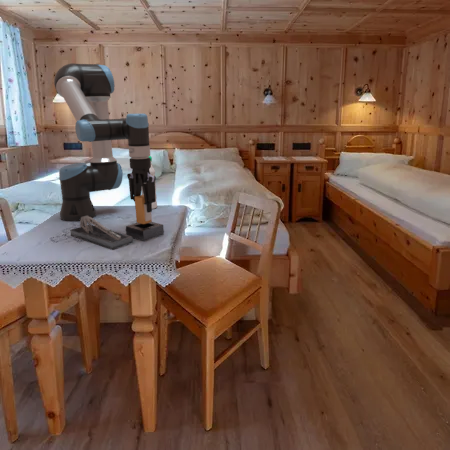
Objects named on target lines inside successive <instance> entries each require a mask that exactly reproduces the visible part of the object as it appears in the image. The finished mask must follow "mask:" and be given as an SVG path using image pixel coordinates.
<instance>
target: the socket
mask: <svg viewBox="0 0 450 450" xmlns="http://www.w3.org/2000/svg"><path fill="white" fill-rule="evenodd" d="M125 232H126V234H125V235H128V236H131V237H133V240H134V239H135V240H139V241H142V242H145V241H146V242H147V241H149V240H151V239H155V238H157V237H161V236H163V235H164V234H165V231H164V224H162V223H158V222H154V221H152V222H150V223H146V224H141V223H137V222H136V223H135V222H134V223H132V224H129V225H125Z"/></svg>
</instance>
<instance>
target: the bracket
mask: <svg viewBox="0 0 450 450" xmlns="http://www.w3.org/2000/svg"><path fill="white" fill-rule="evenodd" d="M79 222H80V223H79V227H82V228H83V229H84V230H85V229H86V230H85V231H86V232H87V233H88V234H89V231H90V232H91V230H92V231H93V229H91V228H92V226H90V225H94V226H96V227H98V228H99V229H101V230H102V231H104V232H105V233H107V234H108V235H110V236H111V237H113V238H114V239H116V240H117V241H118V240H120V238H121V236H119V235H117V234H116V233H114V232H115V231H114V232H112V231H113V230H112V229H108V228H107V227H106V226H104V225H103V224H102V223H100V222H99V221H97V220H96V219H94V217H93V218H91V217H89V216H83V217H81V220H79ZM88 225H89V226H88ZM84 226H85V227H86V228H85V227H84ZM87 228H88V229H87ZM91 233H92V232H91ZM111 233H112V234H111ZM113 234H114V235H115V236H117V237H118V238H117V237H115V236H114V235H113Z"/></svg>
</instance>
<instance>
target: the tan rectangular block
mask: <svg viewBox="0 0 450 450" xmlns="http://www.w3.org/2000/svg"><path fill="white" fill-rule="evenodd" d="M144 203H145V199H144V195H142V194H141V195H140V196H136V197H135V202H134V207H136V209H135V218H136V223H141V224H146V223H150V222H153V221H152V220H153V219H152V220H149V221H145V213H144Z"/></svg>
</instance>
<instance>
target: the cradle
mask: <svg viewBox="0 0 450 450" xmlns="http://www.w3.org/2000/svg"><path fill="white" fill-rule="evenodd" d="M87 225H88V226H89V224H87ZM90 226H92V228H91V229H93V231H92V230H91V232H92V233H91V232H90V231H89V234H88V233H87V232H86V231H85V230H86V229H85V230H84V229H83V228H82V227H80V226H79V227H76V228H72V229H70V231H69V232H70V236H71V237H75V238H77V239H80V240H81V241H82V240H83V241H85V242H89V243H91V244H95V245H98V246H101V247H103V248H107V249H110V250H111V251H112V250H115V249H119V248H122V247H124V246H128V245H130V244H133V243H134V241H133V240H134V238H133V237H131V236H128V235H126V234H124V233H121V232H117V231H114V230H111V231H112V232H114V233H116V234H117V235H119V236H121V238H120V240H118V241H117V240H116V239H114V238H113V237H111V236H110V235H108V234H107V233H105V232H104V231H102V230H101V229H99V228H98V227H96V226H95V225H93V224H91V225H90ZM84 227H85V226H84ZM85 228H86V227H85ZM87 229H88V228H87ZM111 234H112V233H111ZM113 235H114V234H113ZM114 236H115V235H114ZM115 237H117V236H115ZM117 238H118V237H117Z"/></svg>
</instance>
